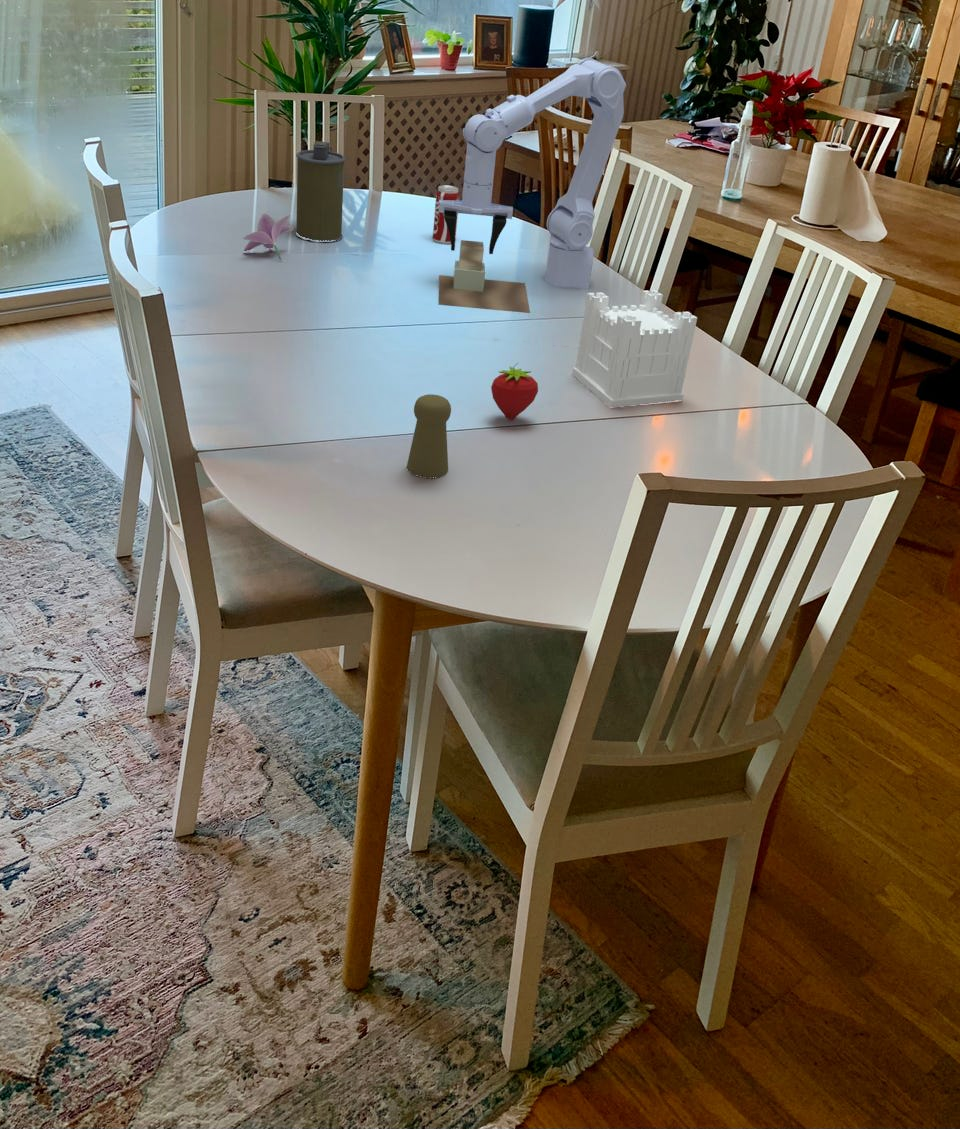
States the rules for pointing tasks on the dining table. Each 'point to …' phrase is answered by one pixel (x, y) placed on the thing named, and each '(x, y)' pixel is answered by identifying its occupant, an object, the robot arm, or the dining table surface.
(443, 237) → the soda can
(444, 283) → the walnut board
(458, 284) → the sage base block
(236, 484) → the dining table surface
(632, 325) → the castle model
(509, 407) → the strawberry
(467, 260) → the birch block
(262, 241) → the lily
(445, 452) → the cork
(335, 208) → the canister
